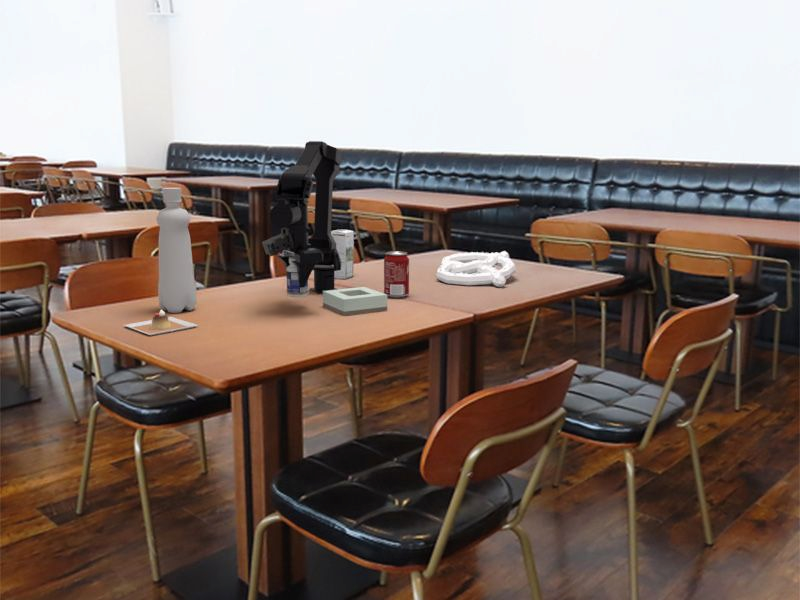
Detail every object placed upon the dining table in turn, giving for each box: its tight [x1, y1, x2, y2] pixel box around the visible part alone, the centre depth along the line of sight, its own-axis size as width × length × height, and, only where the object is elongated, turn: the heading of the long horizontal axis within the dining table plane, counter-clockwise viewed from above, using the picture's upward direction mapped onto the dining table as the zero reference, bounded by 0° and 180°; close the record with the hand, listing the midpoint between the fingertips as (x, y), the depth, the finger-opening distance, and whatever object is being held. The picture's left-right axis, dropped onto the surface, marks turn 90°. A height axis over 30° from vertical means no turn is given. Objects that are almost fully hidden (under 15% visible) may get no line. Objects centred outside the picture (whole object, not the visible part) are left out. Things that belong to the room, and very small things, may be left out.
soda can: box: [383, 250, 410, 299], centre depth 209 cm, size 7×7×12 cm
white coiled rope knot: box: [435, 250, 517, 288], centre depth 237 cm, size 28×24×6 cm
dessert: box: [123, 309, 199, 336], centre depth 174 cm, size 12×12×5 cm
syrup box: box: [331, 229, 355, 280], centre depth 236 cm, size 6×6×14 cm
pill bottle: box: [285, 257, 309, 298], centre depth 194 cm, size 5×5×10 cm
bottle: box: [155, 187, 198, 314], centre depth 189 cm, size 9×9×30 cm
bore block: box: [322, 286, 388, 317], centre depth 195 cm, size 12×12×4 cm
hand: (297, 285), depth 194 cm, fingers closed on pill bottle, 5 cm apart
